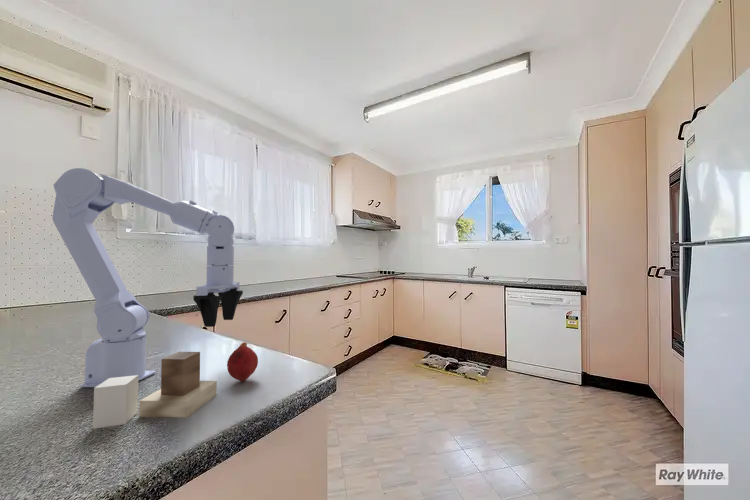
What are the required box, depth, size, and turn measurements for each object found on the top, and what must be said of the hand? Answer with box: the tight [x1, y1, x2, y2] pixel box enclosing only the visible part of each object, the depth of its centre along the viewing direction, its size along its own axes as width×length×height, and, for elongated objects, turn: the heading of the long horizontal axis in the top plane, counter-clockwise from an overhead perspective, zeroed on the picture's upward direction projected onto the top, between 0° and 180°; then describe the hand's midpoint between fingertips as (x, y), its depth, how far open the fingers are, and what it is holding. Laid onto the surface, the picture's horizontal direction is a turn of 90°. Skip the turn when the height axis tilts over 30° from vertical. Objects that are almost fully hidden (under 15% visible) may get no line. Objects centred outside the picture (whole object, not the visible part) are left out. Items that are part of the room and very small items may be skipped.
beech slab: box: [138, 380, 218, 418], centre depth 51 cm, size 8×8×3 cm
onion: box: [226, 341, 259, 383], centre depth 61 cm, size 6×6×8 cm
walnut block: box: [160, 351, 201, 396], centre depth 51 cm, size 4×4×6 cm
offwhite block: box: [92, 375, 139, 429], centre depth 46 cm, size 4×4×6 cm
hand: (219, 322), depth 69 cm, fingers open, 7 cm apart
